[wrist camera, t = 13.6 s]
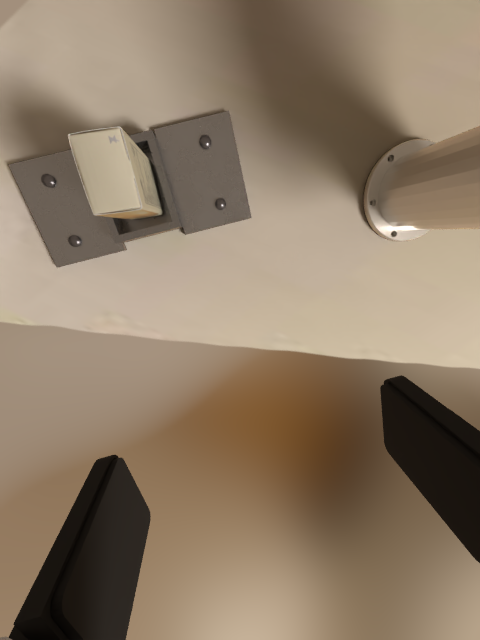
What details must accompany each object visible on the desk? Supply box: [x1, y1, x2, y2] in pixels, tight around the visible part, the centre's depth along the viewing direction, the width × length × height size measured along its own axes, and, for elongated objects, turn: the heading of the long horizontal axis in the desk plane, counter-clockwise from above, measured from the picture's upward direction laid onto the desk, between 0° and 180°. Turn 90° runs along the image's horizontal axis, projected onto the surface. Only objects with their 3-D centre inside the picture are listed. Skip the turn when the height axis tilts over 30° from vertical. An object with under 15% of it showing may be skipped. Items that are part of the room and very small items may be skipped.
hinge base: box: [9, 111, 251, 267], centre depth 31 cm, size 26×12×4 cm, turn 104°
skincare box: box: [68, 126, 164, 220], centre depth 27 cm, size 6×4×12 cm
